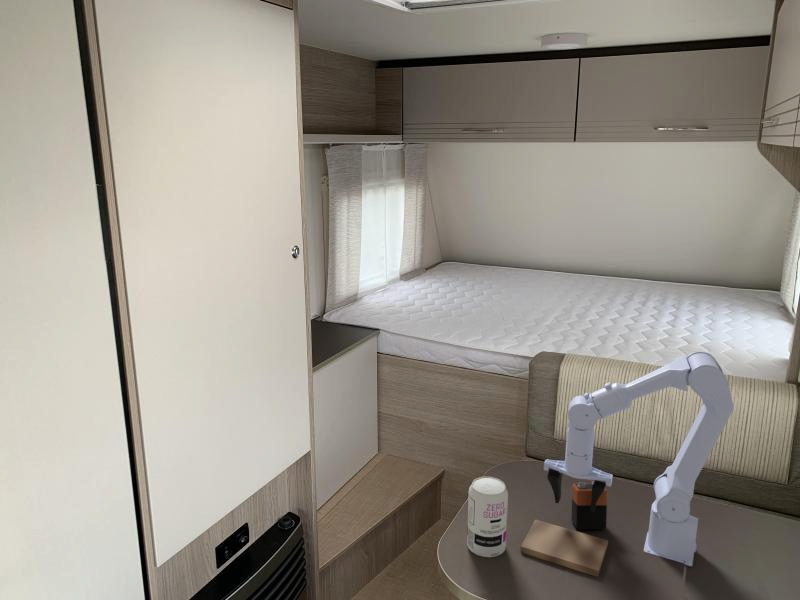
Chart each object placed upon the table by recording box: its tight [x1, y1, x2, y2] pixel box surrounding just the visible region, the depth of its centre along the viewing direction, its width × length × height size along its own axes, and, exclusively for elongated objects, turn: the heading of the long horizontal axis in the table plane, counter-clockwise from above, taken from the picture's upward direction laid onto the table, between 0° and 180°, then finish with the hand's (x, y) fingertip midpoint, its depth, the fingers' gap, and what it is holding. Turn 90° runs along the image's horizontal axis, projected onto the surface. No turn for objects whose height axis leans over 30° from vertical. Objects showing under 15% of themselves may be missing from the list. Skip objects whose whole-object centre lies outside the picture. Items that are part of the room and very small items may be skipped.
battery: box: [571, 481, 608, 530], centre depth 134 cm, size 4×7×10 cm, turn 91°
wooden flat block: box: [520, 519, 609, 578], centre depth 127 cm, size 16×11×2 cm
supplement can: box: [466, 476, 509, 558], centre depth 126 cm, size 8×8×15 cm
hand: (574, 505), depth 132 cm, fingers open, 7 cm apart
